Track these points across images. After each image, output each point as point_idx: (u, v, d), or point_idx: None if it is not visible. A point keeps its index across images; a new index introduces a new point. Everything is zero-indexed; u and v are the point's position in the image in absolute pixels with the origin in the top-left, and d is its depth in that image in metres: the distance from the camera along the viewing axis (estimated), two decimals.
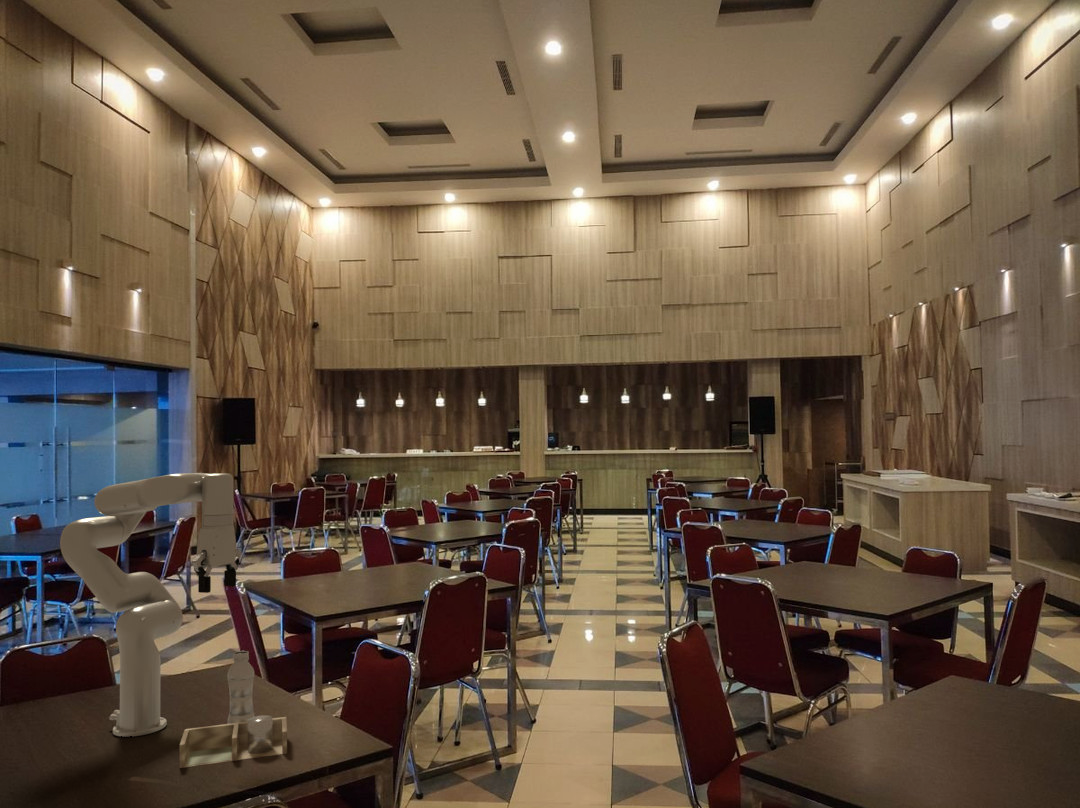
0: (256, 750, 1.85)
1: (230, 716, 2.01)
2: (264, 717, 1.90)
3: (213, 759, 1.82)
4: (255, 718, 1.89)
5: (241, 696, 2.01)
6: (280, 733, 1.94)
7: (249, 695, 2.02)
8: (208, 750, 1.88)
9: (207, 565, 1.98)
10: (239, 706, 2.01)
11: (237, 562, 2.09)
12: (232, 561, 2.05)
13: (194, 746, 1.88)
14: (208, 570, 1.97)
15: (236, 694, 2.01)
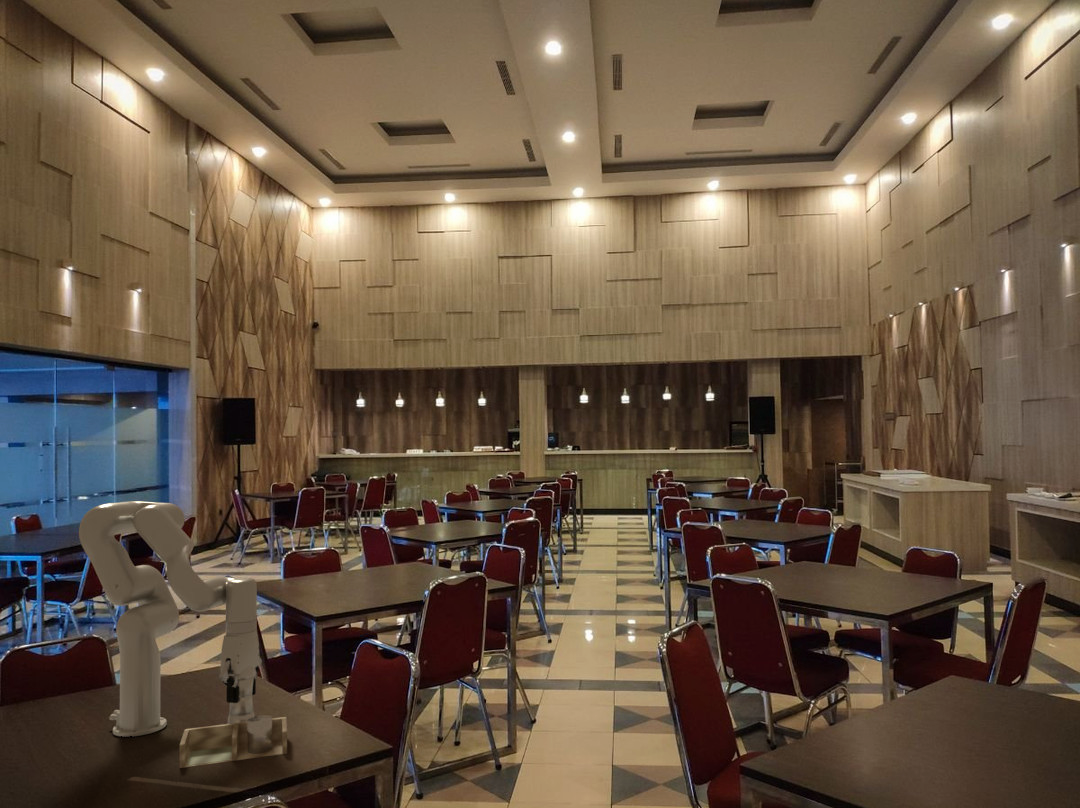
0: (256, 750, 1.85)
1: (230, 716, 2.01)
2: (264, 717, 1.89)
3: (213, 759, 1.82)
4: (254, 718, 1.89)
5: (241, 696, 2.01)
6: (280, 733, 1.94)
7: (249, 695, 2.02)
8: (208, 750, 1.88)
9: (233, 675, 2.00)
10: (239, 706, 2.01)
11: (256, 669, 2.08)
12: (255, 665, 2.06)
13: (194, 746, 1.88)
14: (235, 680, 1.99)
15: None
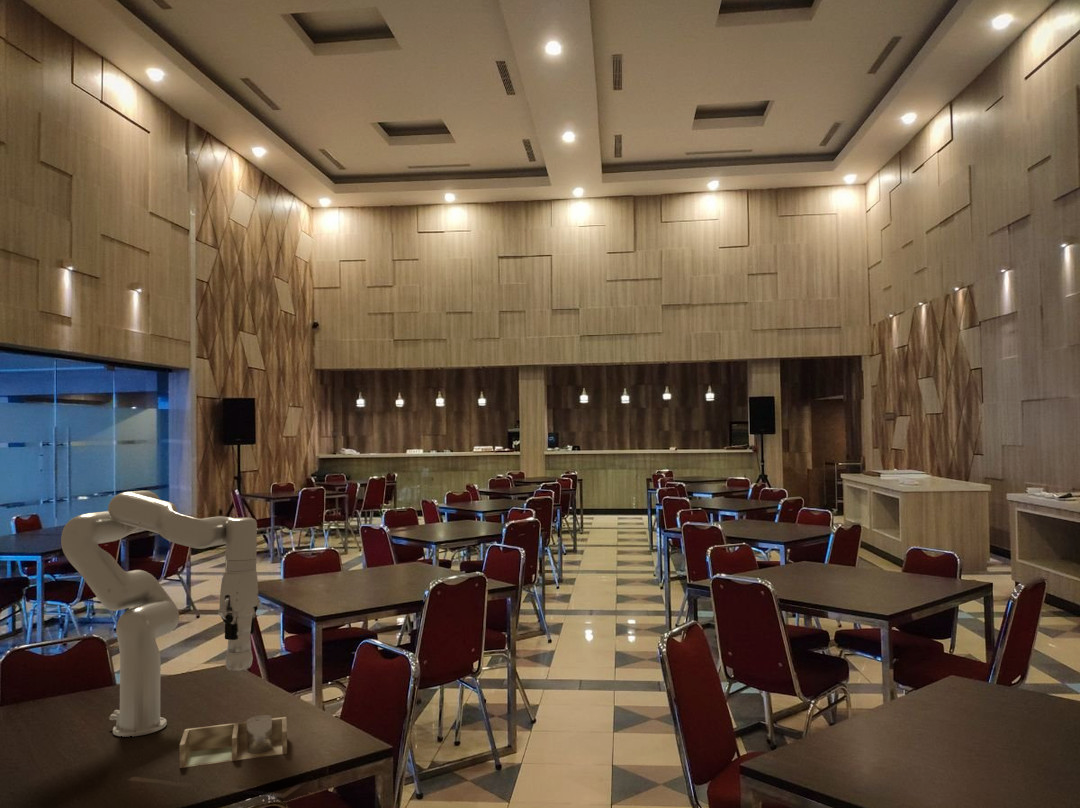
0: (257, 749, 1.85)
1: (228, 653, 2.02)
2: (263, 717, 1.90)
3: (213, 759, 1.82)
4: (254, 718, 1.89)
5: (239, 634, 2.02)
6: (280, 733, 1.94)
7: (247, 633, 2.03)
8: (208, 750, 1.88)
9: (232, 612, 2.01)
10: (237, 644, 2.02)
11: (255, 609, 2.09)
12: (254, 605, 2.07)
13: (194, 746, 1.88)
14: (234, 617, 2.00)
15: None
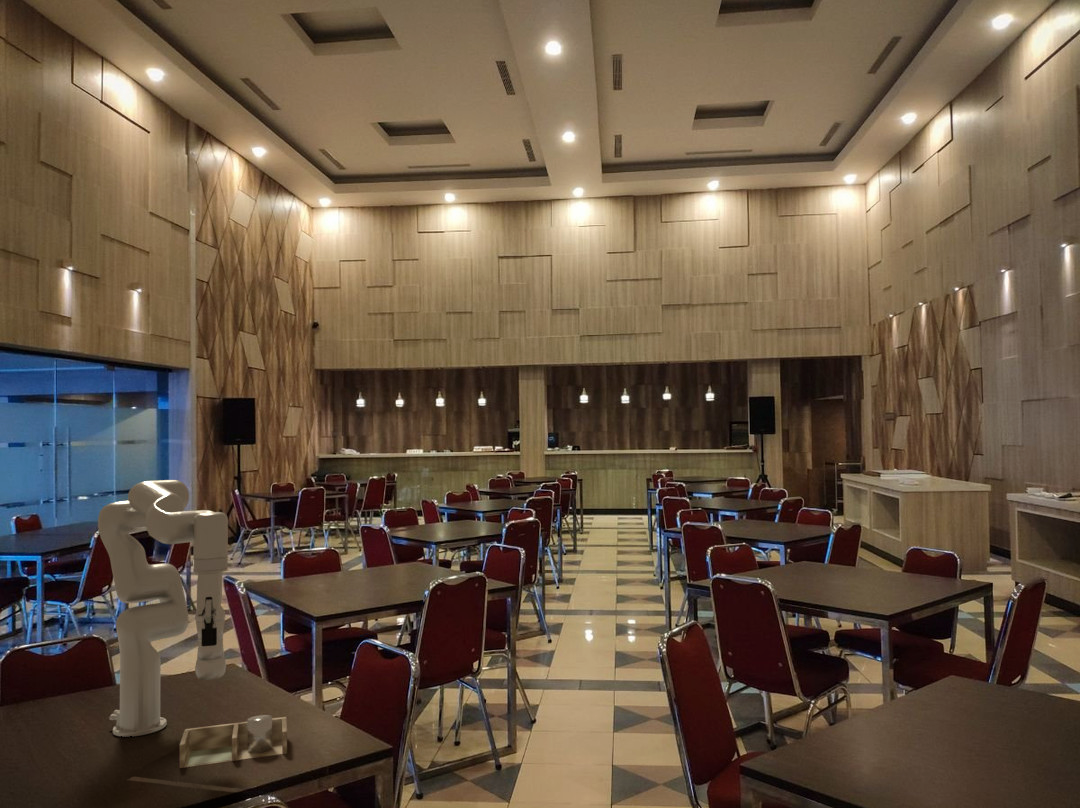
0: (258, 749, 1.85)
1: (203, 662, 1.83)
2: (263, 716, 1.90)
3: (213, 759, 1.82)
4: (253, 717, 1.89)
5: (217, 638, 1.85)
6: (280, 733, 1.94)
7: (222, 637, 1.87)
8: (208, 750, 1.88)
9: (212, 615, 1.83)
10: (215, 650, 1.84)
11: None
12: None
13: (194, 746, 1.88)
14: (215, 621, 1.83)
15: None
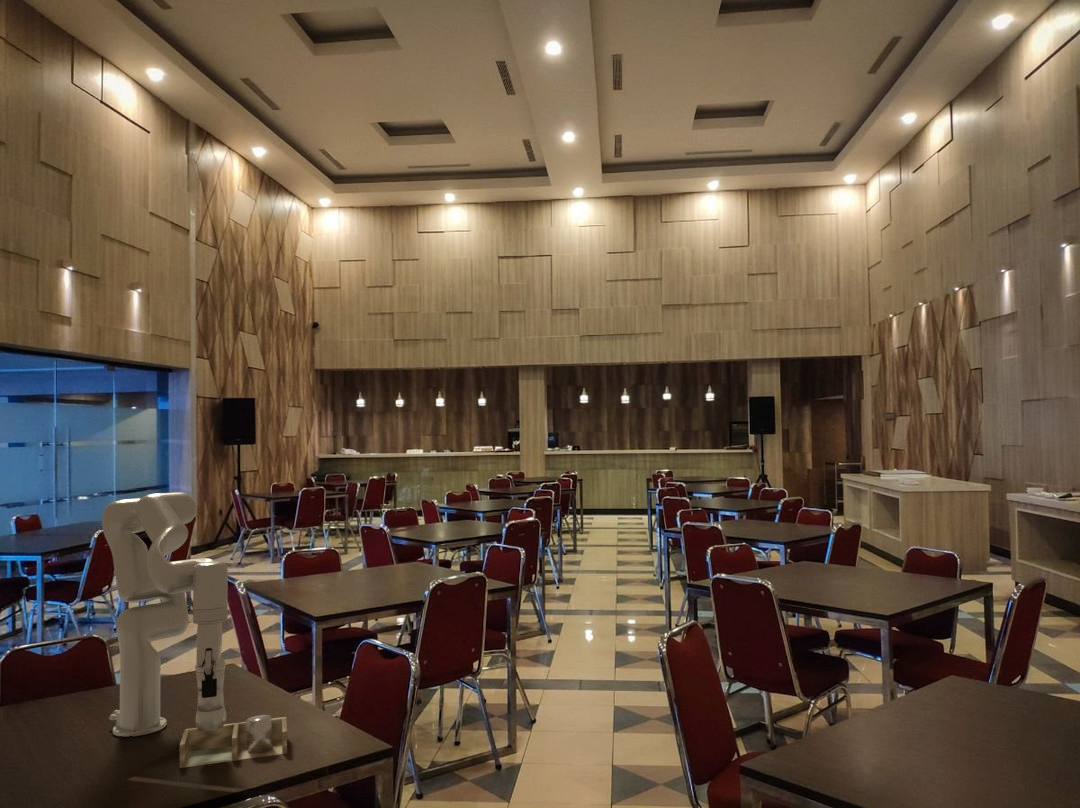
0: (259, 749, 1.85)
1: (204, 713, 1.82)
2: (262, 716, 1.90)
3: (213, 759, 1.82)
4: (252, 718, 1.89)
5: (217, 689, 1.84)
6: (280, 733, 1.94)
7: (222, 687, 1.86)
8: (208, 750, 1.88)
9: (212, 666, 1.82)
10: (215, 700, 1.83)
11: None
12: None
13: (194, 746, 1.88)
14: (215, 672, 1.82)
15: None
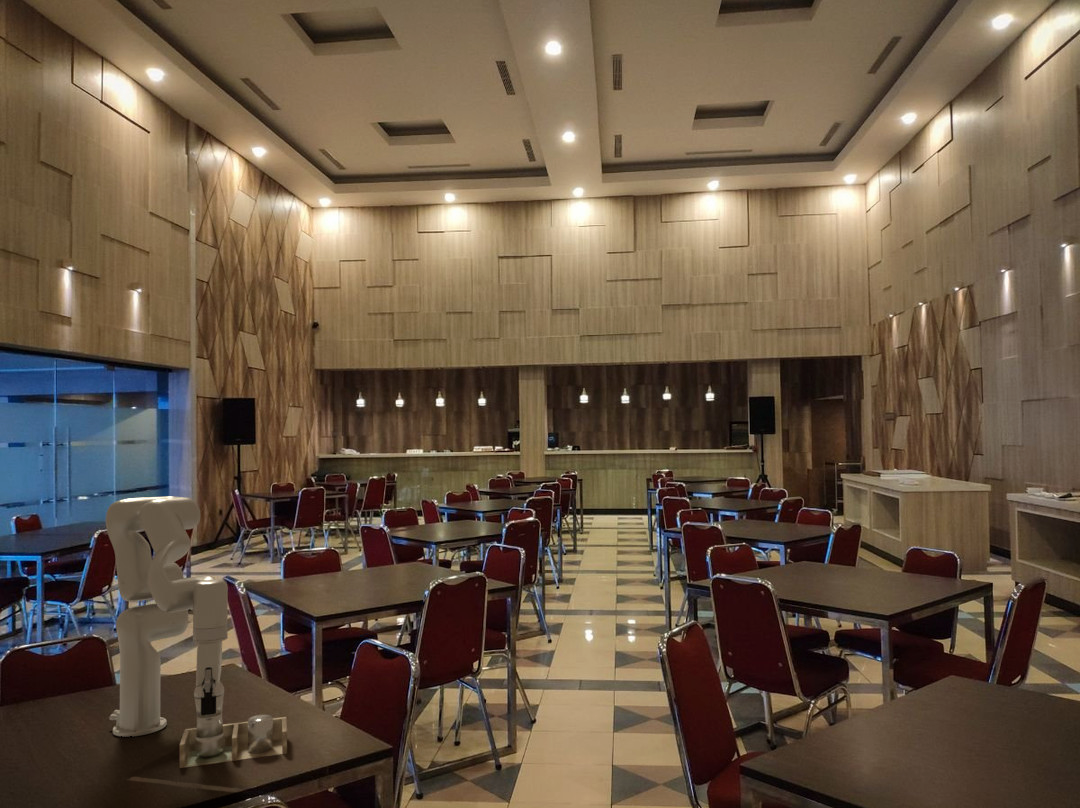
0: (261, 750, 1.85)
1: (202, 739, 1.82)
2: (263, 716, 1.89)
3: (213, 759, 1.82)
4: (253, 718, 1.88)
5: (216, 714, 1.84)
6: (280, 733, 1.94)
7: (221, 712, 1.86)
8: None
9: (211, 684, 1.81)
10: (214, 726, 1.83)
11: None
12: None
13: None
14: (214, 689, 1.81)
15: None
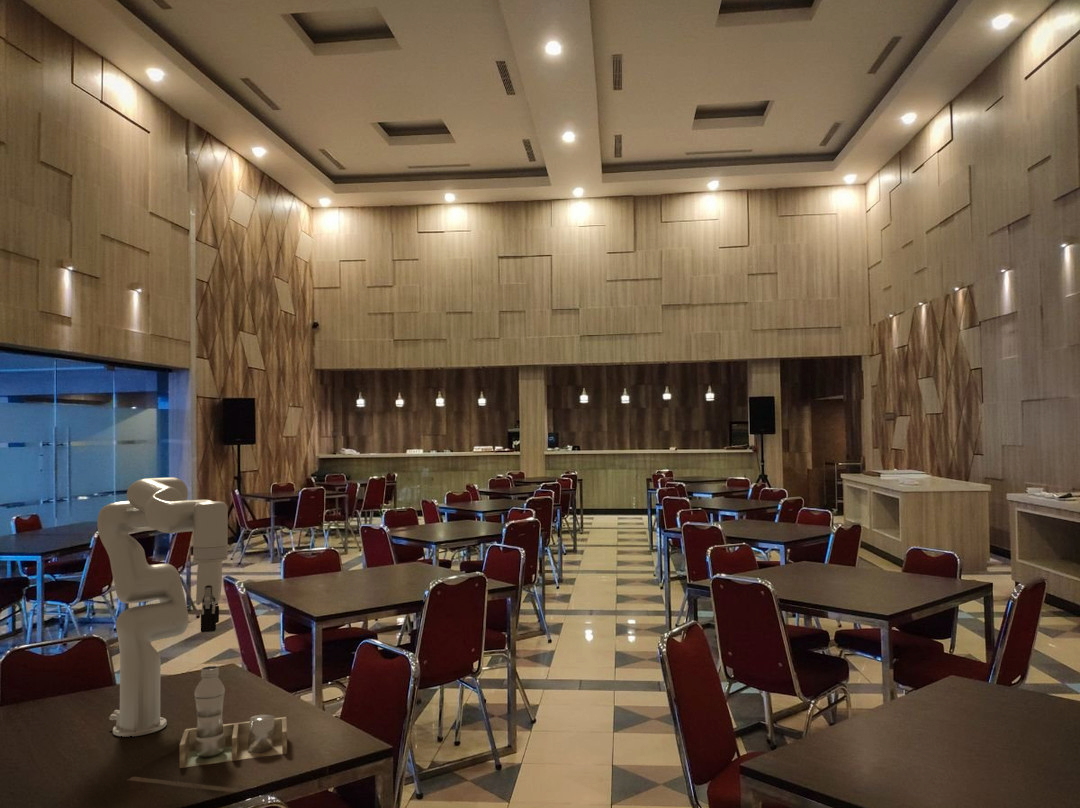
0: (264, 748, 1.86)
1: (203, 739, 1.82)
2: (264, 716, 1.90)
3: (213, 759, 1.82)
4: (254, 718, 1.88)
5: (216, 714, 1.84)
6: (280, 733, 1.94)
7: None
8: None
9: (211, 602, 1.83)
10: (214, 726, 1.83)
11: None
12: None
13: None
14: (214, 607, 1.83)
15: (210, 713, 1.83)
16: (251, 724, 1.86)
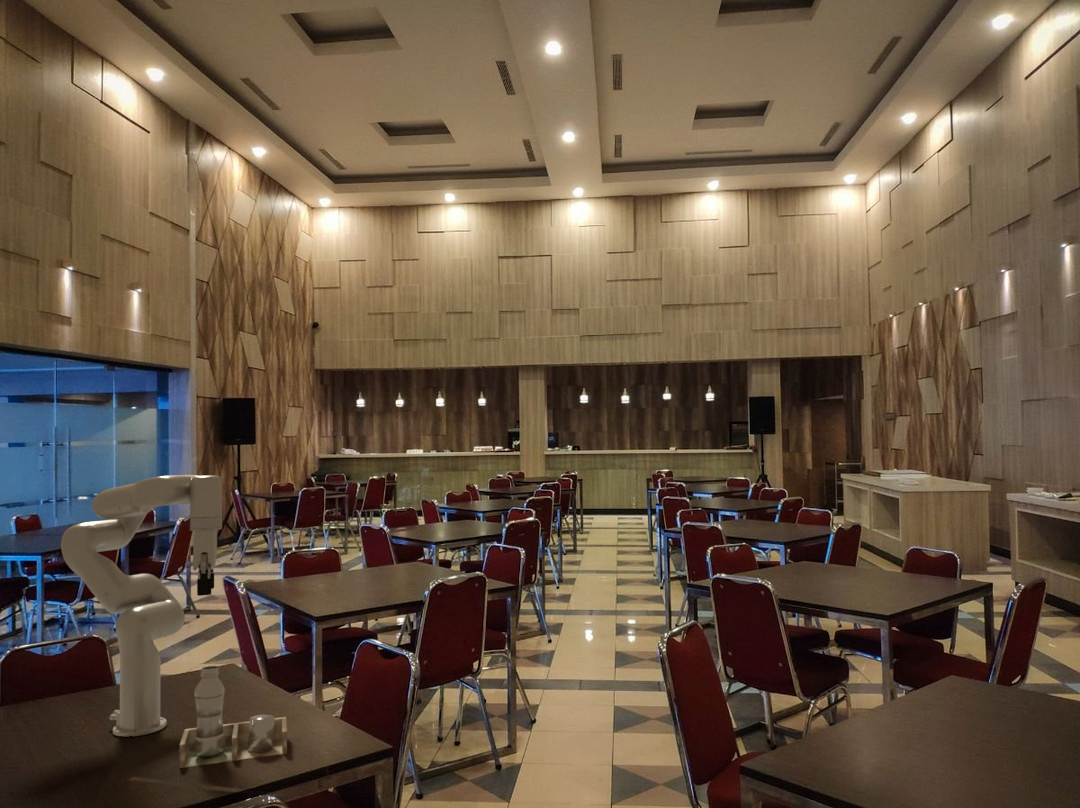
0: (267, 747, 1.86)
1: (203, 739, 1.82)
2: (262, 716, 1.90)
3: (213, 759, 1.82)
4: (254, 718, 1.88)
5: (216, 714, 1.84)
6: (280, 733, 1.94)
7: (221, 712, 1.86)
8: None
9: (207, 567, 1.97)
10: (214, 726, 1.83)
11: None
12: (215, 563, 2.05)
13: None
14: (210, 572, 1.97)
15: (210, 713, 1.83)
16: (253, 724, 1.86)
